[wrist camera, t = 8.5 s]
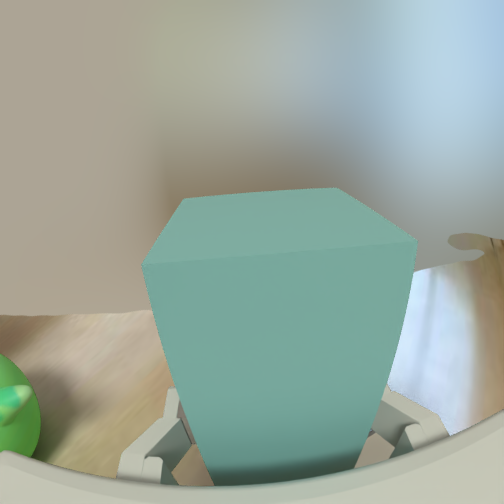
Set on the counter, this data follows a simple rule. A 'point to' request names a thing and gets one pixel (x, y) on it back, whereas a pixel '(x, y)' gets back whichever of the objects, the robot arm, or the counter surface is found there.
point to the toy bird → (17, 411)
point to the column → (279, 326)
